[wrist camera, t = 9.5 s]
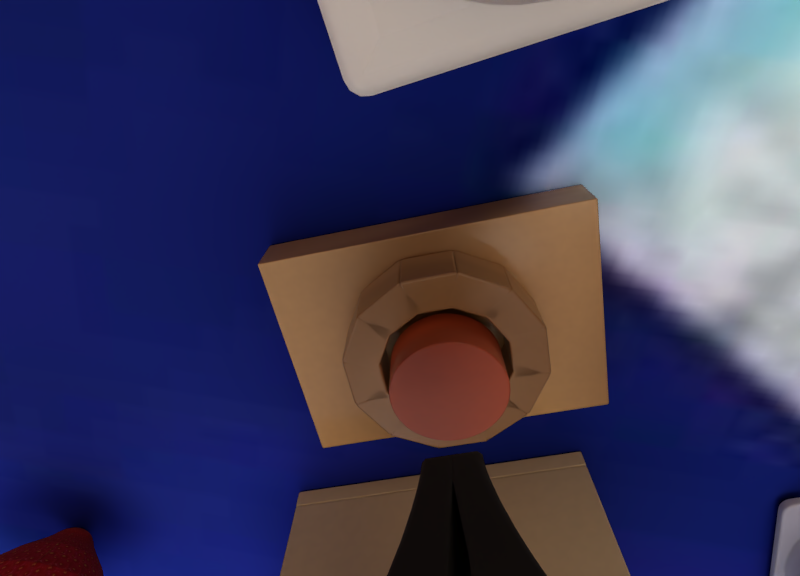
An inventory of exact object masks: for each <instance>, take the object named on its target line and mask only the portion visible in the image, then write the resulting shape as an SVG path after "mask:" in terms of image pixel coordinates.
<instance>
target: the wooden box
mask: <svg viewBox="0 0 800 576" xmlns="http://www.w3.org/2000/svg"><path fill="white" fill-rule="evenodd" d="M485 466H486V469H487V472H488V474H489V477H490V479H491V482H492V484H493V486H494V488H495V490H496V492H497V495H498V497H499V499H500V501H501V502H502V504H503V506H504V508H505V510H506V512H507V513H508V515H509V517H510V519H511V520H512V522H513V524H514V526H515V528H516V529H517V531H518V533H519V534H520V536H521V537H522V539H523V541H524V542H525V544H526V545H527V547H528V548H529V550H530V551H531V553H532V554H533V556H534V558H535V559H536V560H537V562H538V563H539V565H540V566H541V568H542V569H543V571H544V572H545V573H546V575H547V576H630V573H629V571H628V568H627V566H626V563H625V561H624V558H623V556H622V553H621V551H620V548H619V546H618V543H617V541H616V538H615V536H614V533H613V531H612V529H611V526H610V524H609V521H608V519H607V516H606V514H605V511H604V509H603V506H602V504H601V501H600V499H599V496H598V494H597V491H596V489H595V486H594V484H593V481H592V479H591V476H590V474H589V471H588V469H587V467H586V463H585V461H584V458H583V456H582V453H581V452H573V453H566V454H559V455H552V456H545V457H538V458H531V459H525V460H518V461H511V462H504V463H497V464H490V465H485ZM419 478H420V475H415V476H408V477H401V478H394V479H387V480H380V481H373V482H367V483H360V484H353V485H346V486H339V487H332V488H325V489H318V490H312V491H305V492H300V493H299V496H298V501H297V505H296V506H297V507H296V510H295V514H294V519H293V523H292V527H291V531H290V535H289V540H288V544H287V548H286V552H285V556H284V561H283V565H282V569H281V573H280V576H387V574H388V572H389V569H390V567H391V564H392V562H393V559H394V557H395V554H396V552H397V549H398V547H399V544H400V542H401V539H402V536H403V533H404V530H405V527H406V524H407V521H408V518H409V515H410V512H411V509H412V505H413V502H414V498H415V495H416V491H417V487H418V483H419Z"/></svg>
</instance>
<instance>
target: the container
mask: <svg viewBox="0 0 800 576" xmlns="http://www.w3.org/2000/svg"><path fill="white" fill-rule="evenodd" d="M317 1H318V4H319V7H320V10H321V13H322V16H323V19H324V22H325V25H326V29H327V32H328V35H329V38H330V41H331V44H332V47H333V50H334V53H335V56H336V59H337V62H338V65H339V68H340V71H341V74H342V77H343V80H344V82H345V84H346V85H347V87H348V88H349V90H350V91H351V92H353V93H355V94H357V95H359V96H373V95H376V94H379V93H382V92H385V91H388V90H391V89H394V88H397V87H401V86H404V85H407V84H410V83H413V82H416V81H419V80H422V79H425V78H429V77H432V76H435V75H438V74H441V73H444V72H447V71H450V70H453V69H456V68H460V67H463V66H466V65H469V64H472V63H475V62H478V61H481V60H484V59H488V58H491V57H494V56H497V55H500V54H503V53H506V52H509V51H512V50H516V49H519V48H522V47H525V46H528V45H531V44H534V43H537V42H540V41H543V40H547V39H550V38H553V37H556V36H559V35H562V34H565V33H568V32H571V31H575V30H578V29H581V28H584V27H587V26H590V25H593V24H596V23H599V22H603V21H606V20H609V19H612V18H615V17H618V16H621V15H624V14H627V13H630V12H634V11H637V10H640V9H643V8H646V7H649V6H652V5H655V4H658V3H662V2H665V1H668V0H317Z"/></svg>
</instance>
